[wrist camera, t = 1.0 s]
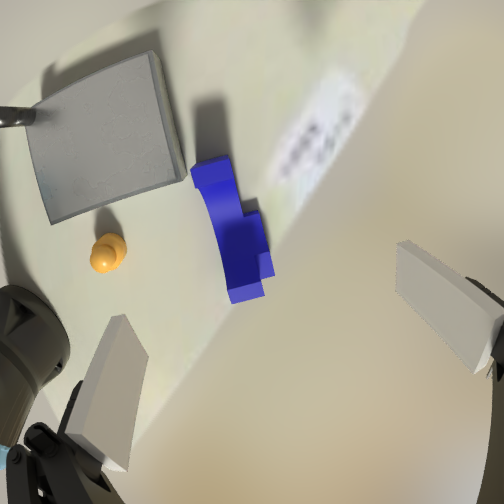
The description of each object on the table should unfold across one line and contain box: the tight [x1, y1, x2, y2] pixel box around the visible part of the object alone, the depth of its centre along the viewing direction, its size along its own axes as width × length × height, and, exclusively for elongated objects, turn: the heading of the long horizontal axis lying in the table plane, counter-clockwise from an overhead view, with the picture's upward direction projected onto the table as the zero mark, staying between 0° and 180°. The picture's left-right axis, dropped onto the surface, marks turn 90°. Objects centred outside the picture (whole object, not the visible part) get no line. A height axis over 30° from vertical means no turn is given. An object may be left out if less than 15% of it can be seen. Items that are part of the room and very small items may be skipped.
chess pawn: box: [90, 233, 127, 273], centre depth 26 cm, size 3×3×4 cm
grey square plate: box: [0, 50, 187, 225], centre depth 19 cm, size 14×12×9 cm
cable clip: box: [190, 155, 275, 304], centre depth 25 cm, size 12×4×6 cm, turn 13°
